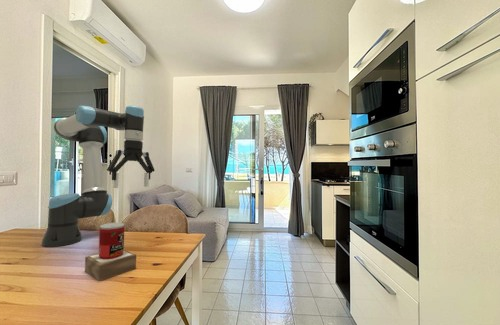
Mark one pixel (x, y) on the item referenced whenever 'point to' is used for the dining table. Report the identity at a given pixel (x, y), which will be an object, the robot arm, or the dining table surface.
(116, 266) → the base block
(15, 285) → the dining table surface
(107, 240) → the canned food
